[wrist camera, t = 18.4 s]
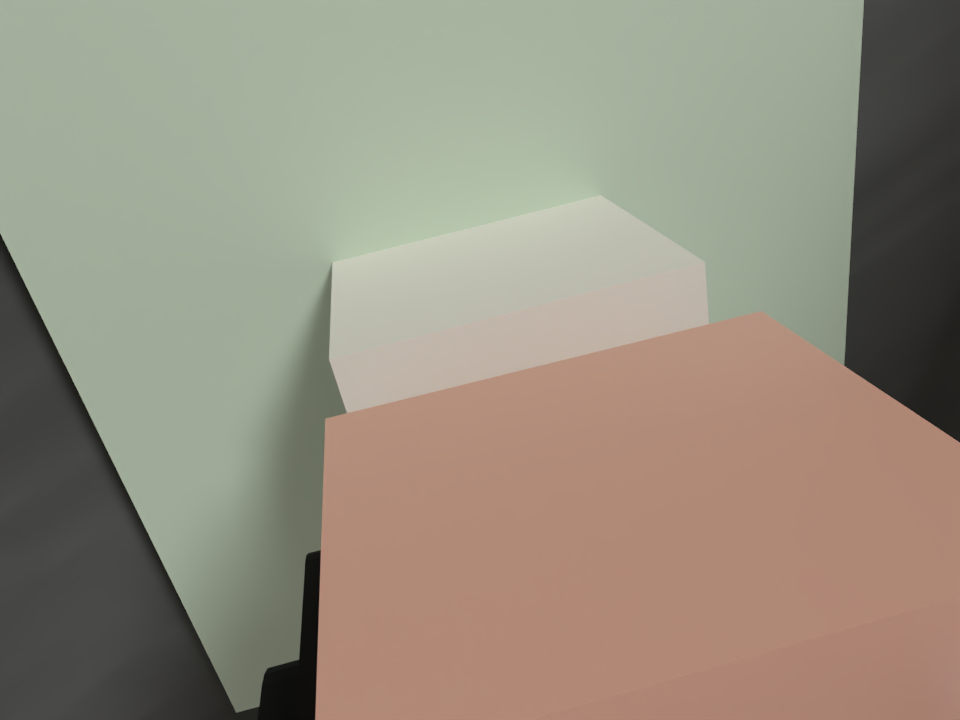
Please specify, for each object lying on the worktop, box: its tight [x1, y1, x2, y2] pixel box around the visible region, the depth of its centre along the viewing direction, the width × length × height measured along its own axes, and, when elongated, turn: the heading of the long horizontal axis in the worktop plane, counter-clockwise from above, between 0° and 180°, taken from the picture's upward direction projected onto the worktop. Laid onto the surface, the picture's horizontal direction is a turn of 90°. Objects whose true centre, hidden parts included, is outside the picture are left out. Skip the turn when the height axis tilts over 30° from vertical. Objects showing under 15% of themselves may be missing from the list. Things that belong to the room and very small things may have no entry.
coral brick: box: [315, 311, 960, 720], centre depth 9 cm, size 6×6×5 cm
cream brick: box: [329, 195, 709, 413], centre depth 15 cm, size 6×6×5 cm
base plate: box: [0, 0, 864, 713], centre depth 17 cm, size 18×18×1 cm
